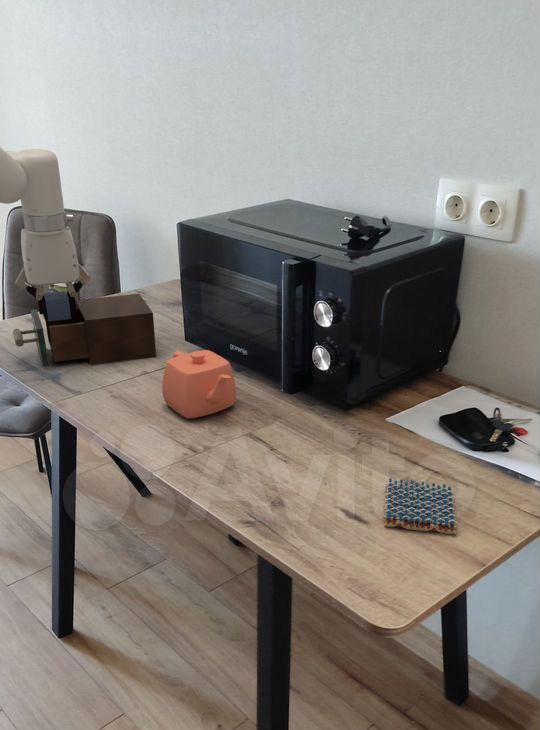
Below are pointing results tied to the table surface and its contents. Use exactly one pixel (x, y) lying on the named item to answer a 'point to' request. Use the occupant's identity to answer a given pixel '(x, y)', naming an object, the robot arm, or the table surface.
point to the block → (57, 306)
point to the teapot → (198, 383)
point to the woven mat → (420, 507)
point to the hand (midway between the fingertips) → (58, 315)
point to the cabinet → (118, 328)
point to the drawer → (58, 337)
